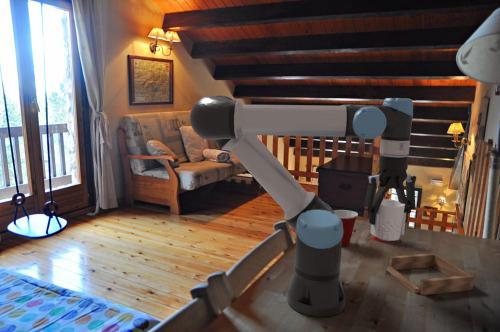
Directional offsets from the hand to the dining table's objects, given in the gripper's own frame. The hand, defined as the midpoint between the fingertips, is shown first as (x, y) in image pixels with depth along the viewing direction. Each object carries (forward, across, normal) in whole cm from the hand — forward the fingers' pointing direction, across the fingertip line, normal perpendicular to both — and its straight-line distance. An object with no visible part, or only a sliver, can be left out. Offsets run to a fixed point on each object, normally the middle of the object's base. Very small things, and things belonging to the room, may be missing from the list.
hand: (387, 233), depth 107 cm
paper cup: (+15, +18, +32) cm, 40 cm away
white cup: (+1, 0, 0) cm, 1 cm away
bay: (+15, +14, 0) cm, 21 cm away
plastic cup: (+15, +1, +30) cm, 34 cm away
